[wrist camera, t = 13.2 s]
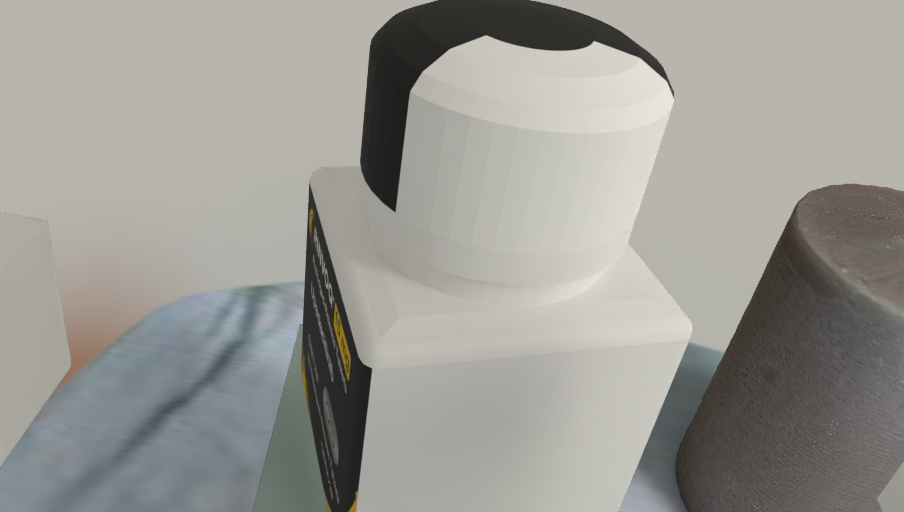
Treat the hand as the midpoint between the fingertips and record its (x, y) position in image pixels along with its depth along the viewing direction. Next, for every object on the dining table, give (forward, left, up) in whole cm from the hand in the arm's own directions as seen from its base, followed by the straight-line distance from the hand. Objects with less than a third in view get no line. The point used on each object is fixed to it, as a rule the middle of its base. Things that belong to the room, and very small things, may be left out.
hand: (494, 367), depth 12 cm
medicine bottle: (-1, -6, -9) cm, 11 cm away
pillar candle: (-17, -13, -19) cm, 29 cm away
